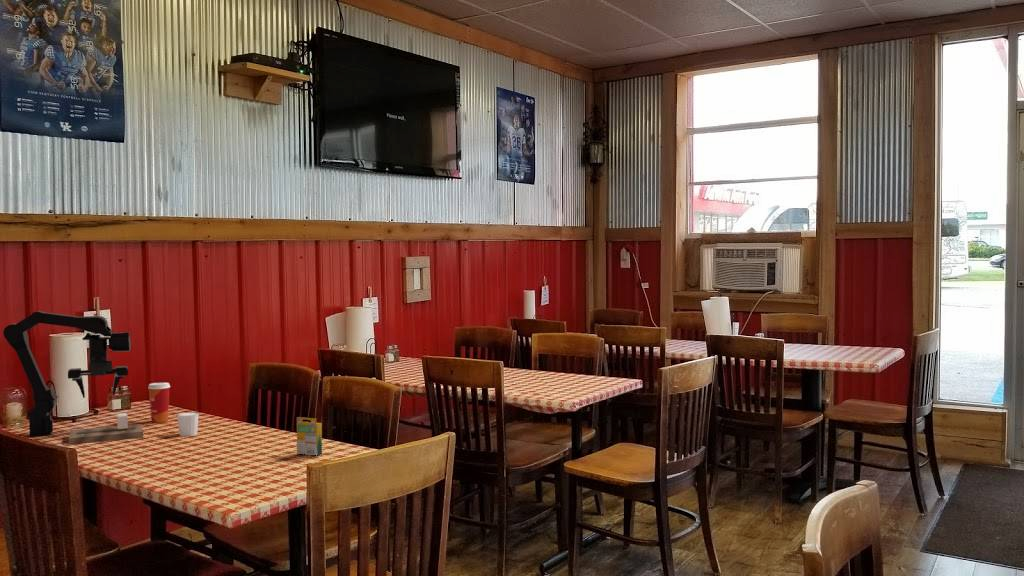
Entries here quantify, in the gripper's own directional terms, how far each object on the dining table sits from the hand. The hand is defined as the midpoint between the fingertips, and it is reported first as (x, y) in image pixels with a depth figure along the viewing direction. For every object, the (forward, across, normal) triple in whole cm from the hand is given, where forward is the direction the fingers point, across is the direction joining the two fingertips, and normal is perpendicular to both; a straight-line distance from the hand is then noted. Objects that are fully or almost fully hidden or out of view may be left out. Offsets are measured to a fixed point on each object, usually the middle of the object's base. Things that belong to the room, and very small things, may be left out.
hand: (98, 396), depth 286 cm
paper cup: (+12, +20, +7) cm, 24 cm away
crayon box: (+12, +58, -69) cm, 91 cm away
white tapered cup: (+12, +27, -21) cm, 37 cm away
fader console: (+12, +2, -13) cm, 17 cm away
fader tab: (+10, +7, -12) cm, 17 cm away
